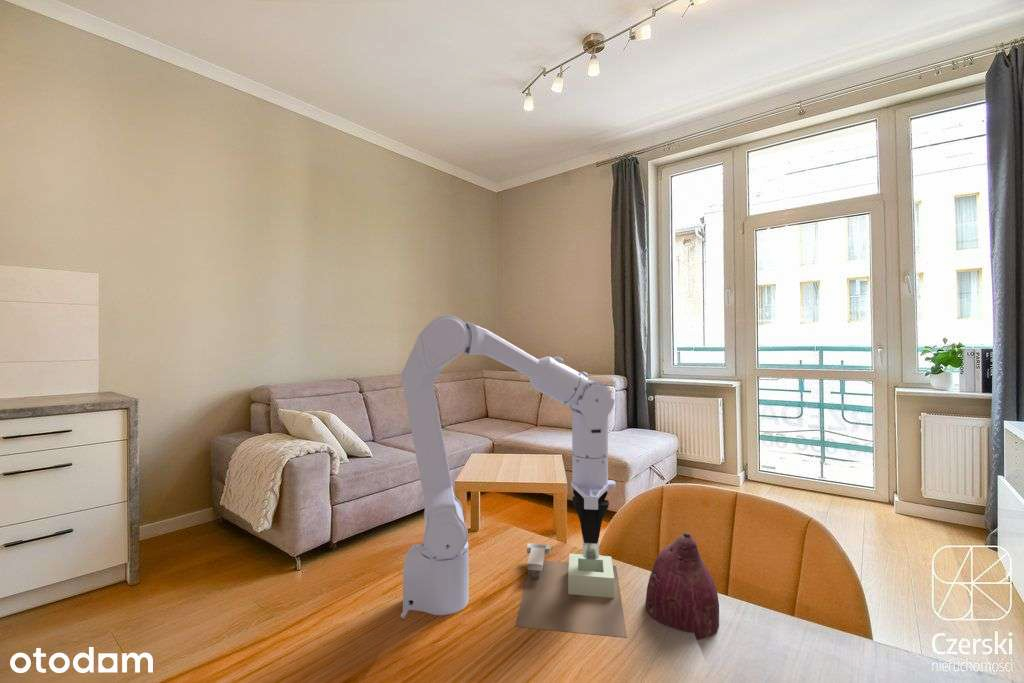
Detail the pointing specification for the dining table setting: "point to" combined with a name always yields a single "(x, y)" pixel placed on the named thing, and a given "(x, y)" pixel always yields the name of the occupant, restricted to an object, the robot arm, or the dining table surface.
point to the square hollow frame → (590, 576)
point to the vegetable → (683, 590)
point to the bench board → (565, 601)
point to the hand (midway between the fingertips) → (590, 538)
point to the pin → (591, 550)
